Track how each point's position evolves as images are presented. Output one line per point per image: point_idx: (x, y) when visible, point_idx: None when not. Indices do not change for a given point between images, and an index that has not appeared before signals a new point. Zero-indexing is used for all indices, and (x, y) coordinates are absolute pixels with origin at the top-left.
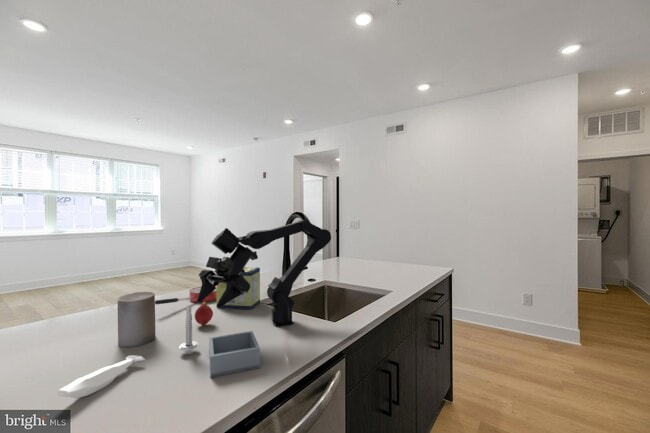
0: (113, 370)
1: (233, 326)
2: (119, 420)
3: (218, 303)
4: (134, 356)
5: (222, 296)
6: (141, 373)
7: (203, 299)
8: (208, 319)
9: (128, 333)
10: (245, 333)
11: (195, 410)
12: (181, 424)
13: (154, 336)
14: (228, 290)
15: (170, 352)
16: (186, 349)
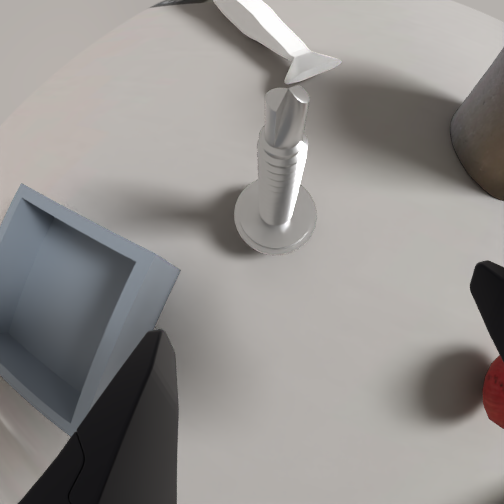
0: (249, 20)
1: (387, 483)
2: (98, 49)
3: (140, 350)
4: (312, 62)
5: (108, 421)
6: (242, 82)
7: (490, 331)
8: (484, 399)
9: (472, 90)
10: (77, 406)
11: (10, 144)
12: (9, 120)
13: (483, 183)
14: (26, 498)
15: (331, 177)
16: (242, 191)
